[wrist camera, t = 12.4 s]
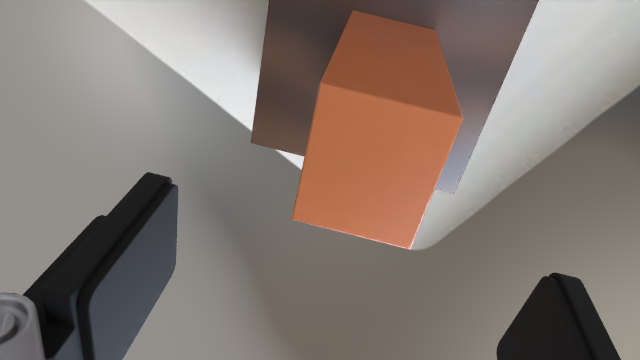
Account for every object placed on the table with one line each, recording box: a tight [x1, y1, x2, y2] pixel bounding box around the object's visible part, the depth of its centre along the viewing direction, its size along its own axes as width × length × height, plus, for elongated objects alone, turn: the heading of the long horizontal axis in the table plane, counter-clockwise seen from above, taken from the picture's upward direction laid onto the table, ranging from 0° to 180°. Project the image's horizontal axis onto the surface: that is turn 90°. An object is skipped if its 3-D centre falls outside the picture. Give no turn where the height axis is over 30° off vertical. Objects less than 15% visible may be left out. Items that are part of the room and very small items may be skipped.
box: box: [292, 10, 463, 249], centre depth 22 cm, size 5×6×13 cm
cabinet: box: [251, 0, 539, 194], centre depth 32 cm, size 17×15×11 cm
